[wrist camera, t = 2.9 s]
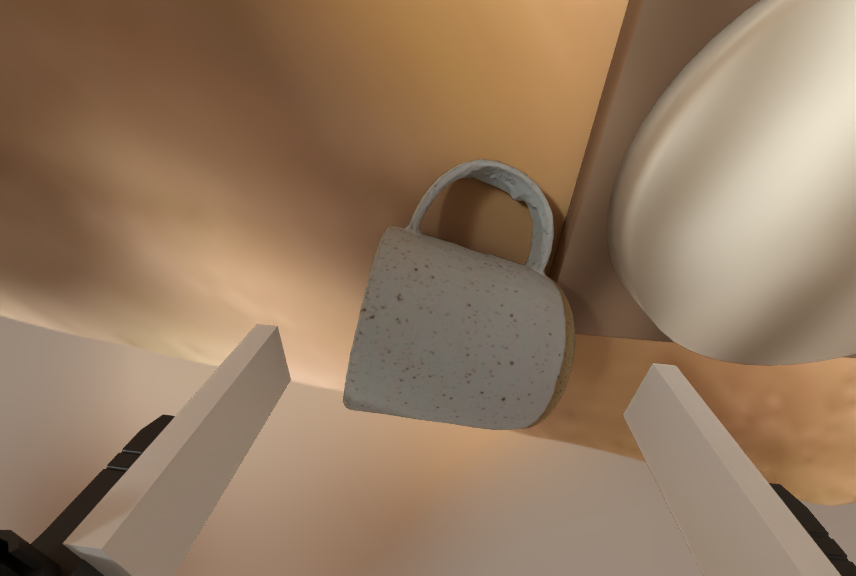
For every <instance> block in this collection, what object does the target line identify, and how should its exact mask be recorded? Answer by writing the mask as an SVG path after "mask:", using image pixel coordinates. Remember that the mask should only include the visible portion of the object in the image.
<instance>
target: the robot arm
mask: <svg viewBox="0 0 856 576" xmlns="http://www.w3.org/2000/svg"><path fill="white" fill-rule="evenodd" d="M290 380H291V378H290V374H289V370H288V366H287V362H286V358H285V354H284V350H283V346H282V342H281V338H280V334H279V330H278V326H271V325H261V324H257V325H256V326H255V327H254V328H253V329H252V330H251V331H250V333H249V334H248V335H247V336H246V337H245V338H244V339H243V340H242V342H241V343H240V344H239V345H238V346H237V347H236V348H235V349H234V351H233V352H232V353H231V354H230V355H229V356H228V357H227V358H226V360H225V361H224V362H223V363H222V364H221V365H220V366H219V368H218V369H217V370H216V371H215V372H214V373H213V374H212V375H211V377H210V378H209V379H208V380H207V381H206V382H205V383H204V384H203V386H202V387H201V388H200V389H199V390H198V391H197V392H196V394H195V395H194V396H193V397H192V398H191V399H190V400H189V401H188V403H187V404H186V405H185V406H184V407H183V408H182V409H181V411H180V412H179V413H178V414H177V415H176V416H170V415H162V416H160V417H159V418H157V419H156V420H154V421H153V422H152V423H150V424H149V425H147V426H146V427H144V428H143V429H142V430H140V431H139V432H138V433H137V434H136V436H134V438H133V439H132V440H131V441H130V442H129V443H128V444H127V445H126V446H125V447H124V448H123V451H122V452H121V453H118V454H117V455H116V456H115V458H114V459H113V460H112V461H111V462H110V463H109V464H108V465H107V468H106V469H103V470H102V471H101V472H100V473H99V474H98V476H96V477H95V479H94V480H93V481H92V482H91V483H90V484H89V485H88V486H87V487H86V488H85V489H84V490H83V491H82V492H81V493H80V494H79V495H78V496H77V498H75V499H74V501H73V502H72V503H71V504H70V505H69V506H68V507H67V508H66V509H65V510H64V511H63V512H62V513H61V514H60V515H59V516H58V517H57V519H55V521H54V522H53V523H52V524H51V525H50V526H49V527H48V528H47V529H46V530H45V531H44V532H43V533H42V534H41V535H40V536H39V537H38V538H37V539H36V540H35V541H33V542H32V543H31V544H29V543H28V542H27V541H25V540H24V539H23V538H21V537H20V536H18V535H17V534H16V533H14V532H12V531H11V530H0V576H174V575H175V573H176V572H177V570H178V568H179V566H180V565H181V563H182V562H183V560H184V558H185V557H186V555H187V553H188V551H189V550H190V548H191V546H192V545H193V543H194V541H195V540H196V538H197V536H198V535H199V533H200V531H201V530H202V528H203V526H204V525H205V523H206V521H207V520H208V518H209V516H210V514H211V513H212V511H213V509H214V508H215V506H216V504H217V503H218V501H219V499H220V498H221V496H222V494H223V493H224V491H225V489H226V488H227V486H228V484H229V482H230V481H231V479H232V478H233V476H234V474H235V473H236V471H237V469H238V468H239V466H240V464H241V463H242V461H243V459H244V457H245V456H246V454H247V452H248V451H249V449H250V447H251V446H252V444H253V442H254V441H255V439H256V437H257V436H258V434H259V432H260V431H261V429H262V427H263V425H264V424H265V422H266V421H267V419H268V417H269V416H270V414H271V412H272V410H273V409H274V407H275V405H276V404H277V402H278V400H279V399H280V397H281V395H282V394H283V392H284V390H285V389H286V387H287V385H288V384H289V382H290ZM623 417H624V419H625V421H626V423H627V425H628V427H629V429H630V431H631V433H632V435H633V437H634V439H635V441H636V443H637V445H638V447H639V449H640V451H641V453H642V455H643V457H644V459H645V461H646V463H647V465H648V467H649V469H650V471H651V473H652V475H653V477H654V479H655V481H656V483H657V485H658V487H659V488H660V491H661V493H662V495H663V497H664V499H665V501H666V503H667V505H668V507H669V509H670V510H671V513H672V515H673V517H674V519H675V521H676V523H677V525H678V526H679V529H680V531H681V533H682V534H683V537H684V539H685V541H686V543H687V545H688V547H689V549H690V551H691V553H692V555H693V557H694V559H695V561H696V563H697V564H698V567H699V569H700V571H701V573H702V575H703V576H856V566H855V565H854V564H853V562H850V561H848V559H847V555H846V554H845V553H844V551H843V550H842V549H841V548H840V547H839V545H838V544H837V543H836V542H835V541H834V540H833V539H831V538H830V537H829V536H828V532H827V531H826V530H825V529H824V527H823V526H822V525H821V524H820V523H819V521H818V520H817V519H816V518H815V517H814V515H813V514H812V513H811V512H810V511H809V509H808V508H807V507H805V505H803V504H802V503H801V502H800V501H799V500H798V499H796V498H795V497H794V496H793V495H792V494H791V493H789V492H788V491H787V490H786V489H785V488H784V487H783V486H781V485H779V484H771V483H768V482H767V481H766V479H765V478H764V477H763V475H762V474H761V473H760V472H759V470H758V469H757V468H756V467H755V465H754V464H753V463H752V461H751V460H750V459H749V458H748V456H747V455H746V454H745V453H744V451H743V450H742V449H741V447H740V446H739V445H738V444H737V442H736V441H735V440H734V439H733V437H732V436H731V435H730V434H729V432H728V431H727V430H726V428H725V427H724V426H723V425H722V423H721V422H720V421H719V420H718V418H717V417H716V416H715V414H714V413H713V412H712V411H711V409H710V408H709V407H708V406H707V404H706V403H705V402H704V400H703V399H702V398H701V397H700V395H699V394H698V393H697V392H696V390H695V389H694V388H693V386H692V385H691V384H690V383H689V381H688V380H687V379H686V378H685V376H684V375H683V374H682V372H681V371H680V370H679V369H678V367H677V366H676V365H668V364H657V363H652V365H651V367H650V368H649V370H648V372H647V374H646V375H645V377H644V379H643V381H642V382H641V384H640V386H639V388H638V389H637V391H636V393H635V395H634V396H633V398H632V400H631V402H630V403H629V405H628V407H627V409H626V410H625V412H624V414H623Z"/></svg>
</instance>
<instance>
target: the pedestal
mask: <svg viewBox="0 0 856 576" xmlns="http://www.w3.org/2000/svg"><path fill="white" fill-rule="evenodd" d="M549 278H550V279H552V280H553V281H555V282H556V283H557V284H558V285H559V287H560V288H561V289H562V290H563V292H564V294H565V296H566V298H567V300H568V302H569V305H570V308H571V311H572V314H573V320H574V329H575V334H583V335H595V336H607V337H618V338H630V339H641V340H653V341H664V342H676V343H678V344H679V345H681V346H683V347H684V348H686V349H688V350H690V351H693V352H695V353H698V354H700V355H703V356H705V357H709V358H713V359H716V360H720V361H724V362H731V363H738V364H745V365H767V366H771V365H793V364H801V363H810V362H818V361H824V360H829V359H834V358H839V357H849V358H856V0H629V3H628V6H627V10H626V13H625V17H624V20H623V23H622V27H621V30H620V34H619V37H618V41H617V44H616V48H615V51H614V55H613V58H612V61H611V65H610V68H609V72H608V75H607V79H606V82H605V86H604V89H603V92H602V96H601V99H600V103H599V106H598V110H597V113H596V117H595V120H594V124H593V127H592V130H591V134H590V137H589V141H588V144H587V148H586V151H585V155H584V158H583V162H582V165H581V168H580V172H579V175H578V179H577V182H576V186H575V189H574V193H573V196H572V199H571V203H570V206H569V210H568V213H567V217H566V220H565V224H564V227H563V231H562V234H561V237H560V241H559V244H558V248H557V251H556V255H555V258H554V262H553V265H552V268H551V272H550V275H549Z"/></svg>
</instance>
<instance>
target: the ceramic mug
mask: <svg viewBox="0 0 856 576" xmlns="http://www.w3.org/2000/svg"><path fill="white" fill-rule="evenodd" d="M470 177H471V178H476V179H478V180H480V181H482V182H485V183H488V184H490V185H493V186H495V187H498V188H500V189H501V190H503V191H505V192H507V193H508V194H509V195H510V196H511V198H512V199H513V200H517V201H523V200H524V202H525V203H526V205H527V206H528V209H529V212H530V215H531V218H532V223H533V229H532V235H533V238H532V243H531V251H530V254H529V258H528V261H527V263H526V264H525V265H522V264H518V263H515V262H512V261H510V260H506V259H503V258H500V257H497V256H494V255H491V254H483V253H480V252H477V251H474V250H470V249H468V248H465V247H463V246H460V245H457V244H455V243H452V242H449V241H444V240H442V239H438V238H434V237H431V236H429V235H425V234H422V233H421V232H420V231H419V224H420V222H421V220H422V218H423V216H424V214H425V212H426V211H427V209H428V207H429V206H430V205H431V203H432V202H433V201H434V199H435V198H436V197H437V195H438V194H439V193H440V192H441V191H442V190H443V189H444V188H445V187H446V186H447V185H449V184H451V183H453V182H454V181H456V180H457V179H460V178H470ZM553 237H554V229H553V215H552V210H551V208H550V206H549V203H548V201H547V199H546V197H545V195H544V194H543V192H542V191H541V189H540V188H539V186H538V185H537V184H536V183H535V182H534V181H533V180H532V179H531V178H529V177H528V176H527V175H526V174H525V173H523V172H521V171H519V170H518V169H516V168H514V167H511V166H509V165H506V164H504V163H502V162H499V161H492V160H485V159H477V160H474V161H470V162H465V163H461V164H460V165H458V166H456V167H454V168H452V169H451V170H449V171H447V172H446V173H445V174H443V175H442V176H440V177H439V178H438V179H437V180H436V181H435V182H434V183H433V184H432V186H431V187H430V188H429V189H428V190H427V192H426V193H425V195H424V196H423V198H422V199H421V201H420V203H419V204H418V206H417V208H416V210H415V212H414V214H413V216H412V218H411V221H410V224H409V225H408V226H407V227H406V228H403V227H398V226H389V227H388V228H387V229H386V230H385V231H384V233H383V236H382V238H381V240H380V243H379V246H378V249H377V251H376V254H375V258H374V262H373V266H372V269H371V272H370V275H369V279H368V284H367V287H366V291H365V295H364V299H363V303H362V307H361V310H360V316H359V320H358V324H357V328H356V332H355V336H354V341H353V346H352V349H351V353H350V360H349V365H348V371H347V375H346V382H345V390H344V396H343V403H344V405H345V407H346V408H348V409H350V410H356V411H364V412H372V413H380V414H388V415H394V416H400V417H406V418H413V419H419V420H426V421H434V422H443V423H450V424H456V425H462V426H469V427H475V428H483V429H492V430H511V429H524V428H530V427H532V426H534V425H536V424H538V423H539V422H541V421H542V420H544V419H545V418H546V417H547V416H548V415H549V414H550V412H551V411H552V410H553V409H554V408H555V406H556V404H557V403H558V401H559V399H560V398H561V396H562V394H563V392H564V390H565V387H566V385H567V382H568V378H569V375H570V371H571V367H572V363H573V358H574V349H575V329H574V320H573V314H572V311H571V308H570V305H569V302H568V300H567V298H566V296H565V294H564V292H563V290H562V289H561V288H560V287H559V285H558V284H557V283H556V282H555V281H553V280H552V279H550V278H549V277H548V276H546V275H545V273H544V269H545V266H546V265H547V263H548V260H549V256H550V253H551V251H552V242H553Z"/></svg>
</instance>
